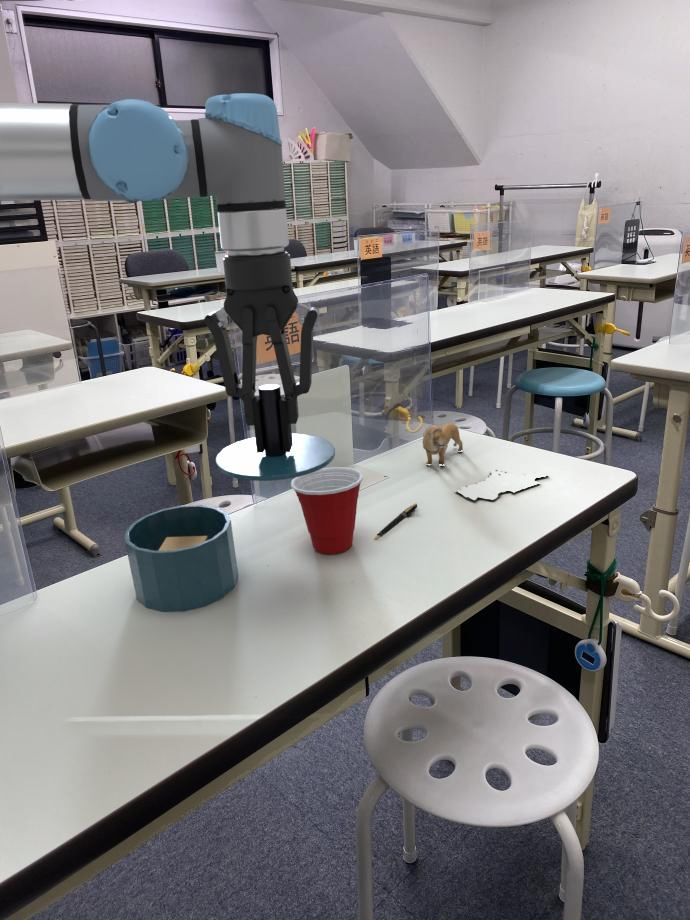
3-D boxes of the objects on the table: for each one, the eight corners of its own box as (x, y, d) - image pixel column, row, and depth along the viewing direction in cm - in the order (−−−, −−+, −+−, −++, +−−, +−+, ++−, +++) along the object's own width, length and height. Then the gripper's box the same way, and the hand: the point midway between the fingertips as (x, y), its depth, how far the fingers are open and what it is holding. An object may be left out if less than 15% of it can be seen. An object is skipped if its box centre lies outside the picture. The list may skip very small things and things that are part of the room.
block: (160, 595, 95) (153, 557, 93) (173, 573, 100) (166, 536, 98) (203, 594, 94) (197, 556, 92) (213, 572, 100) (207, 535, 98)
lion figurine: (444, 475, 129) (443, 430, 126) (417, 472, 131) (416, 427, 128) (466, 448, 141) (467, 407, 138) (442, 446, 143) (441, 405, 140)
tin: (122, 616, 91) (108, 554, 88) (154, 562, 105) (144, 506, 101) (226, 614, 90) (217, 550, 87) (246, 559, 104) (238, 503, 100)
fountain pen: (376, 545, 105) (376, 536, 105) (370, 543, 106) (369, 534, 106) (420, 508, 116) (420, 500, 116) (414, 507, 117) (414, 499, 116)
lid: (203, 487, 79) (192, 407, 76) (230, 443, 93) (221, 374, 89) (331, 483, 78) (325, 402, 75) (338, 439, 92) (334, 369, 88)
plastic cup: (341, 525, 112) (336, 457, 108) (381, 549, 104) (377, 477, 100) (284, 546, 107) (276, 475, 103) (321, 573, 98) (314, 498, 94)
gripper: (328, 245, 79) (339, 436, 88) (195, 252, 80) (219, 440, 89) (323, 250, 72) (336, 457, 81) (177, 258, 73) (205, 461, 82)
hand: (275, 448), depth 85 cm, fingers closed on lid, 3 cm apart
